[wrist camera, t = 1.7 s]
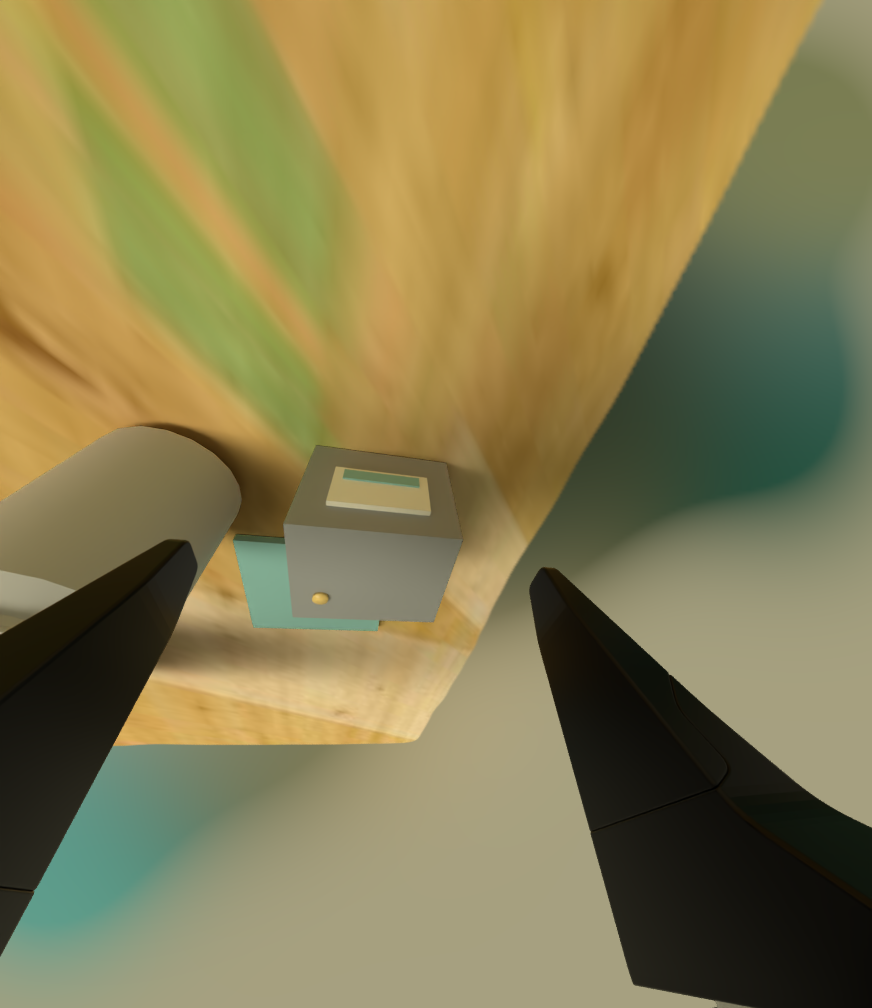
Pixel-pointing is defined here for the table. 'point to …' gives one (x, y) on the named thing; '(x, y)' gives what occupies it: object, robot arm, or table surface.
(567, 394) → the table surface
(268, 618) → the mat
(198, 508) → the can
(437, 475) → the unit
